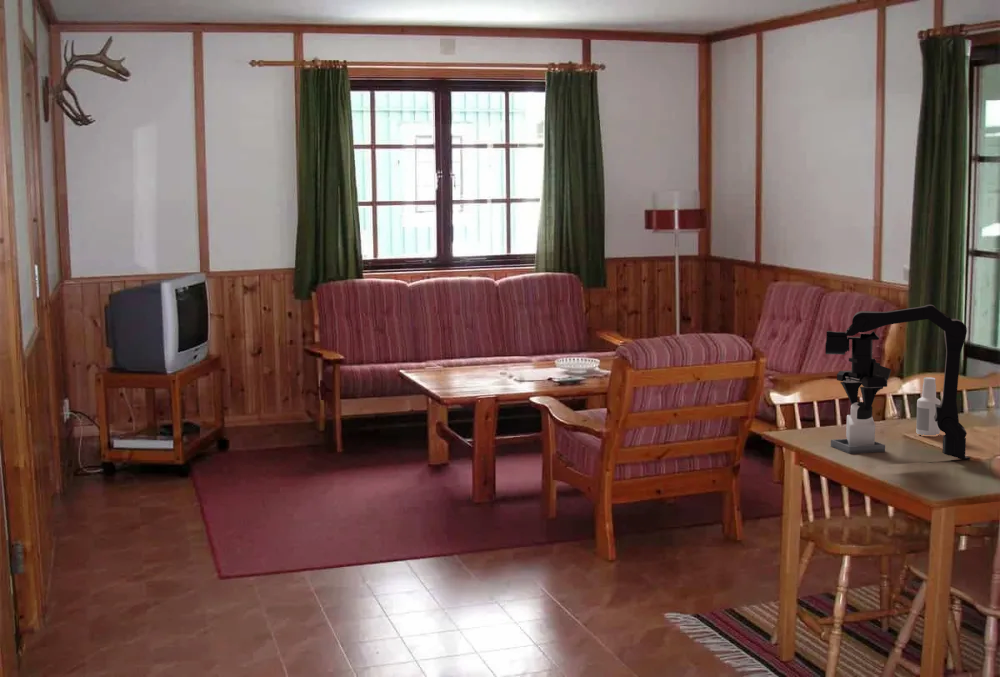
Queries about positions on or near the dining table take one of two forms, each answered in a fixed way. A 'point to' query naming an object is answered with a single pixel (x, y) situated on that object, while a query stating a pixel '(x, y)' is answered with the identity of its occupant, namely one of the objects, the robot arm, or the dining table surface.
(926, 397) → the spray bottle
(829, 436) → the dining table surface
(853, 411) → the medicine bottle
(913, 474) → the dining table surface
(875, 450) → the tray
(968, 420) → the dining table surface
